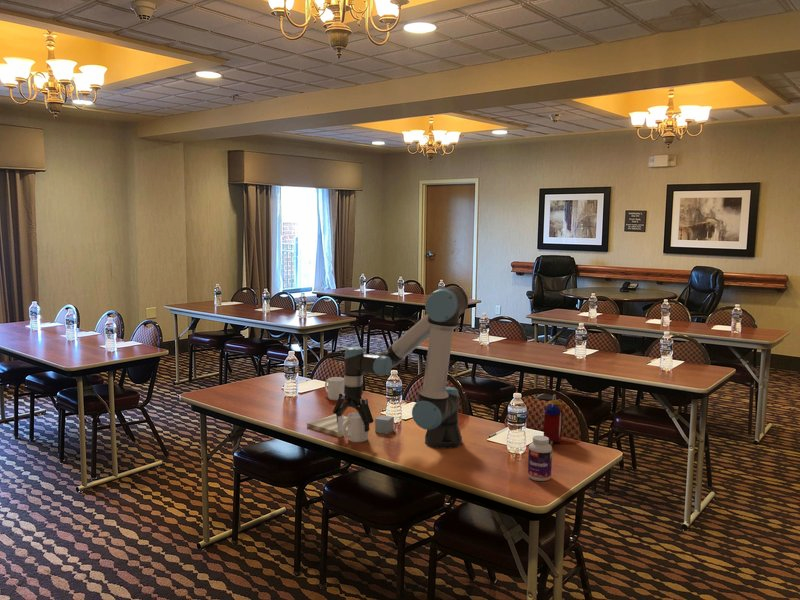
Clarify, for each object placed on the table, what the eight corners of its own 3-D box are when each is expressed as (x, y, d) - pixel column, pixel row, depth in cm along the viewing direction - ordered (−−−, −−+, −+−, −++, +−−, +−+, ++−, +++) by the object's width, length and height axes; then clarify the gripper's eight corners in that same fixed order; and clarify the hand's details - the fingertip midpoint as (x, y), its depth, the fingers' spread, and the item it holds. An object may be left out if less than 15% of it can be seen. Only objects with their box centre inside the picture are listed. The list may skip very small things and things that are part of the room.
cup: (336, 401, 319) (336, 381, 318) (319, 397, 326) (319, 378, 325) (347, 397, 326) (347, 378, 325) (330, 394, 333) (330, 375, 332)
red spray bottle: (558, 448, 252) (560, 399, 250) (536, 445, 255) (538, 397, 253) (562, 437, 266) (564, 390, 264) (541, 434, 269) (543, 388, 267)
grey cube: (393, 430, 274) (393, 416, 274) (387, 434, 269) (387, 420, 268) (381, 428, 277) (381, 415, 276) (375, 432, 271) (375, 418, 270)
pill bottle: (525, 480, 220) (526, 440, 218) (529, 472, 228) (530, 433, 226) (549, 483, 217) (550, 442, 216) (552, 475, 225) (554, 435, 223)
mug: (348, 446, 254) (348, 421, 252) (336, 441, 260) (336, 416, 259) (371, 439, 262) (371, 415, 260) (359, 434, 268) (359, 410, 267)
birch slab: (368, 428, 278) (368, 422, 278) (339, 439, 264) (339, 432, 264) (336, 420, 291) (336, 413, 290) (307, 429, 277) (306, 423, 277)
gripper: (382, 388, 253) (381, 439, 256) (337, 377, 269) (336, 425, 272) (370, 392, 248) (369, 444, 250) (325, 380, 263) (324, 430, 266)
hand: (352, 435), depth 261 cm, fingers open, 13 cm apart
